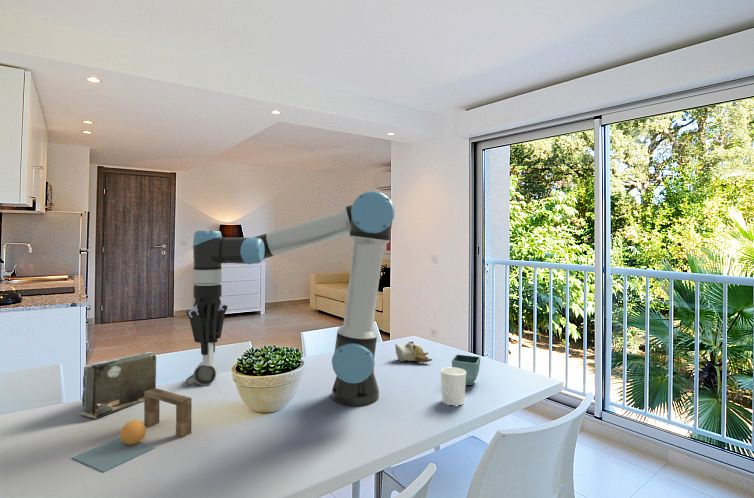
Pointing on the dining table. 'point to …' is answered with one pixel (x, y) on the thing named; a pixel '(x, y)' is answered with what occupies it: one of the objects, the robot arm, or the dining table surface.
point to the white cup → (453, 385)
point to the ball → (133, 432)
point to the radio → (117, 383)
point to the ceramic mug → (203, 374)
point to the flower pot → (467, 366)
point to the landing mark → (112, 454)
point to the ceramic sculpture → (411, 353)
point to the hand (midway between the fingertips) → (208, 364)
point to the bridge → (180, 401)
